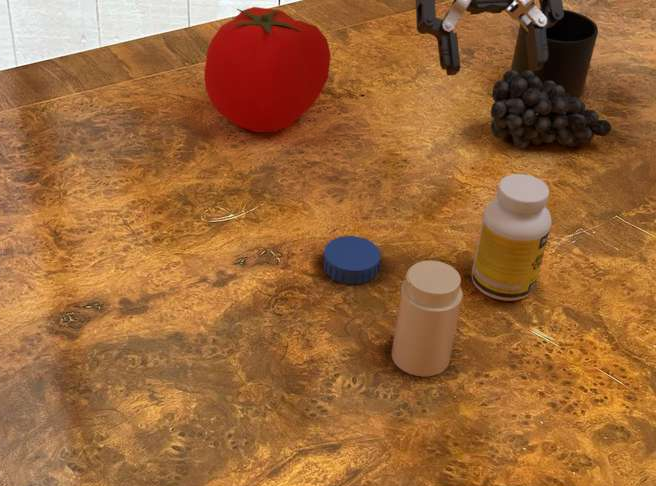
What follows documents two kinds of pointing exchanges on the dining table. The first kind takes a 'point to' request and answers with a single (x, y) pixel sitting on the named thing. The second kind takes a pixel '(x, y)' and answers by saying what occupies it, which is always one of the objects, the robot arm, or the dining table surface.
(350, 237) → the jar lid
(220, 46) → the tomato
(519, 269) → the pill bottle
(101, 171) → the dining table surface
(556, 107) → the fruit
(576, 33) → the black cylindrical cup
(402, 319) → the plain beige capped bottle
